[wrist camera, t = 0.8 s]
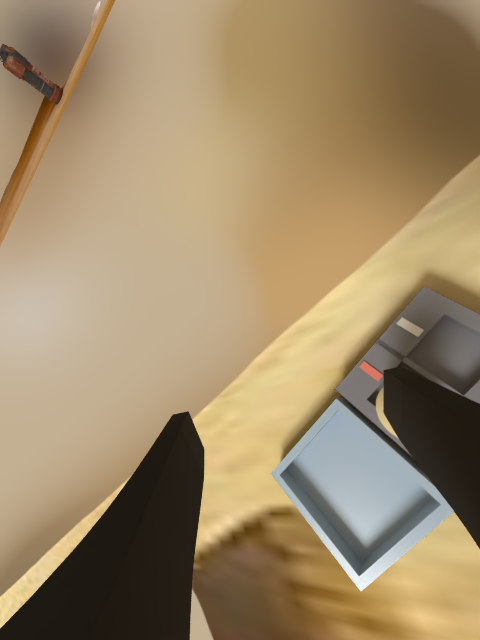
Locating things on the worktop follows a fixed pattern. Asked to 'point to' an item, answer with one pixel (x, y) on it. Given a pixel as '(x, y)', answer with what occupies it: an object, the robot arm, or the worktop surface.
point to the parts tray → (360, 492)
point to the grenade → (29, 73)
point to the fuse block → (420, 353)
